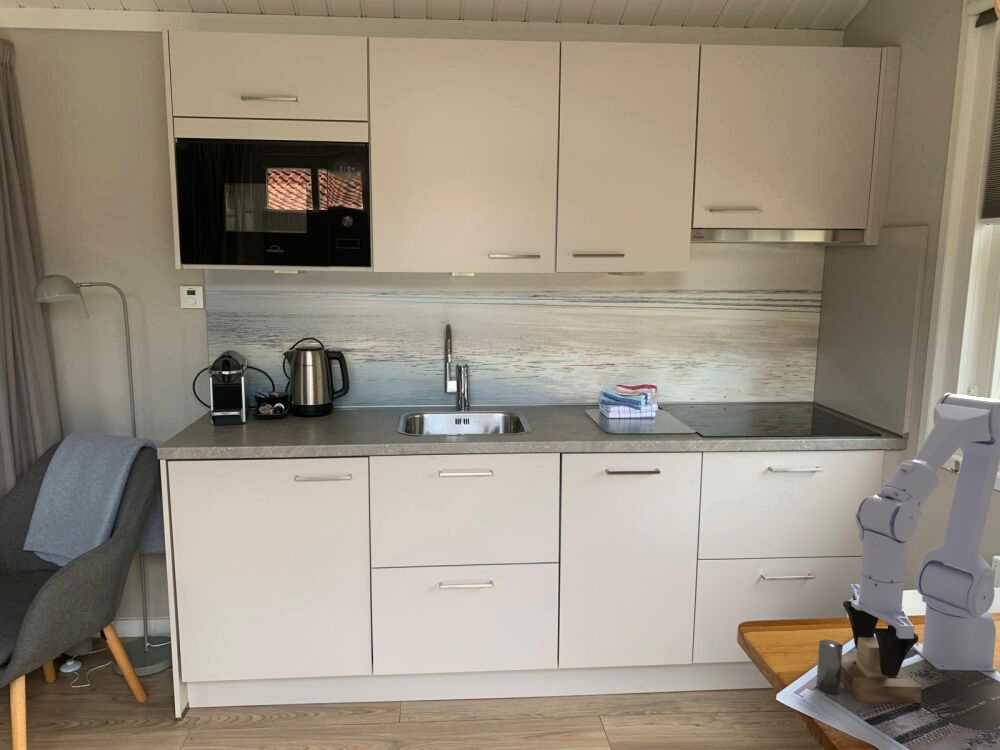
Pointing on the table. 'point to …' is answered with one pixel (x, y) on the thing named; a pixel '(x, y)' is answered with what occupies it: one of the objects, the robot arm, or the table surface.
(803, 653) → the table surface
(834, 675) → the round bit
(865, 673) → the square bit
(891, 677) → the bore block
